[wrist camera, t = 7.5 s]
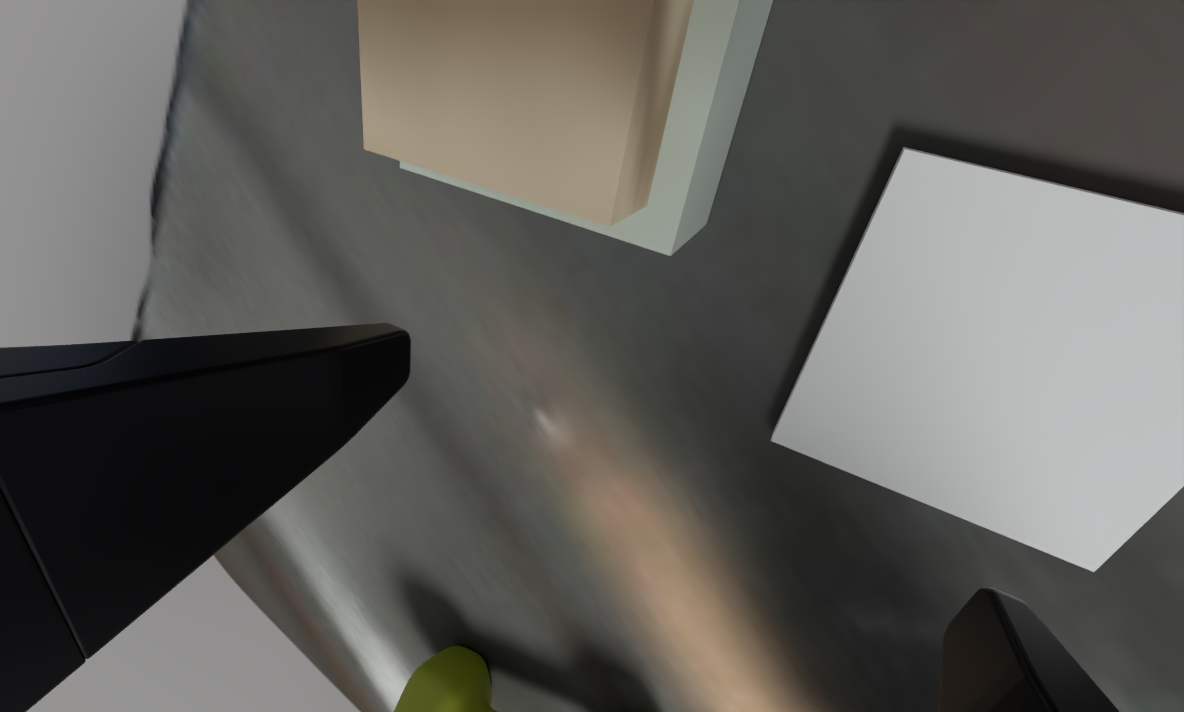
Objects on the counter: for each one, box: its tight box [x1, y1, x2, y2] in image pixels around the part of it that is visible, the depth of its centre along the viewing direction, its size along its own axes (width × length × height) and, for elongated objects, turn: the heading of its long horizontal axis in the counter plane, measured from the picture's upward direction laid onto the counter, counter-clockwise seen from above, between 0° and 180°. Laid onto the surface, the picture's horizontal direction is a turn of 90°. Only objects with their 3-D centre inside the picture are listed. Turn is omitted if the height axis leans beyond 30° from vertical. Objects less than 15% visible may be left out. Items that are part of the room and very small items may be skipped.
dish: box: [400, 0, 773, 256], centre depth 15 cm, size 9×9×4 cm
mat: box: [771, 147, 1184, 572], centre depth 15 cm, size 10×10×1 cm
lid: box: [357, 0, 694, 227], centre depth 12 cm, size 7×7×2 cm
